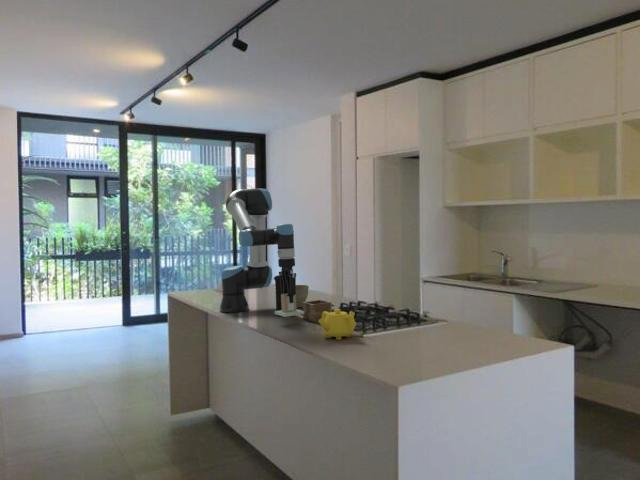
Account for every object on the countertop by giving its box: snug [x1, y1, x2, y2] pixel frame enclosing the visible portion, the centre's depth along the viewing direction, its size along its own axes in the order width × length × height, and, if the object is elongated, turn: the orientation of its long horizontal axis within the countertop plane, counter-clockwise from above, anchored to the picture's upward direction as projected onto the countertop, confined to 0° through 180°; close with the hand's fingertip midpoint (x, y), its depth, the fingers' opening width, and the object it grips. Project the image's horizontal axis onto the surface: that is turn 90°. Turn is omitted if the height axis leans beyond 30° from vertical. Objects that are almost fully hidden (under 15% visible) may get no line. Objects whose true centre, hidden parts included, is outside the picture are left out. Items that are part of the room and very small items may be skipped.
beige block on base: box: [274, 293, 304, 318], centre depth 241 cm, size 10×10×9 cm
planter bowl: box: [296, 284, 309, 309], centre depth 286 cm, size 16×16×11 cm
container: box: [273, 274, 283, 317], centre depth 264 cm, size 9×9×20 cm
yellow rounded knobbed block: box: [318, 308, 357, 341], centre depth 212 cm, size 20×18×11 cm
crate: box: [302, 299, 333, 323], centre depth 249 cm, size 10×10×8 cm
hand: (289, 309), depth 241 cm, fingers closed on beige block on base, 3 cm apart
